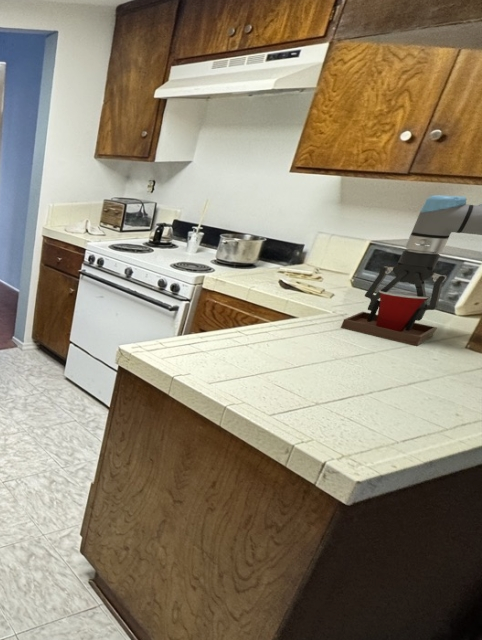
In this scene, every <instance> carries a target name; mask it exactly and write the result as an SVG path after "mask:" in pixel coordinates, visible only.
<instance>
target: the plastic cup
mask: <svg viewBox="0 0 482 640" xmlns="http://www.w3.org/2000/svg"><path fill="white" fill-rule="evenodd" d="M381 290H382V289H379V290H378V292H380V298H379V301H380V305H379V308H378V310H377V315H378V316H377V317H378V318H377V323H376V326H377V327H382V328H386V329H390V330H395V331H399V332H402V331H403V330H404V329H405V328H406V326H407V325H408V323H409V321H410V319H411V317H412V315H413V314H414V313H415V311H416V310H418V309H419V307H420V306H421V304H422V303H423V302H424V301H426V300H427V301H428V300H429V299H431V296H432V295H429V294H426V297H417V292H415V291H414V292H412V291H406V290H397V289H395V290H394V289H390V290H389V291H388V292H387V293H386V292H382V291H381Z"/></svg>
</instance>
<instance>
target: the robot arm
mask: <svg viewBox="0 0 482 640" xmlns="http://www.w3.org/2000/svg"><path fill="white" fill-rule="evenodd" d="M467 200H468V199H467V197H466V196H458V195H446V194H445V195H443V194H440V195H439V194H437V195H436V194H435V195H431V196H429V197H427V198H426V200H425V202H424V203H423V206H422V208H421V209H420V212H419V214H418V215H417V218H416V221H415V223H414V226H413V228H412V231H411V233H410V235H409V237H408V239H407V242H406V244H405V246H404V248H405V250H403V251H402V254H401V255H400V257H399V259H398V262H397V264H396V265H394V266H387V265H385V266H381V267H380V268H379V272H378V275H377V277H376V278H375V279H374V281H373V282H372V284H371V285H370V286H369V288H368V290H367V291H366V292H365V294H364V297H365V298H367V299H369V300H370V302H369V304H368V306H367V311H370V312H369V313H370V315H369V317H368V319H367V322H371V321H373V319H374V317H375V315H377V313H378V310H379V305H380V292H379V291H378V292H377V293H375V292H376V291H377V289H378V288H379V287H380V285H381V284H382V282H383V281H384V280H385V278H386V277H387V275H389V274H391V272H392V273H394V276H395V277H394V278H393V279H392V280H391V281H390V282H389V283H387V284H386V285H385V286H384V287H383V288H382V289H380V290H381V291H382V292H386V293H387V292H388V291H389V290H392V289H393V288H394V287H396V285H397V284H399V283H404V284H405V283H408V284H410V285H414V286H415V290H416V293H417V297H426V295H427V293H426V287H425V286H426V285H425V284H426V283H425V281H426V280H428V279H430V278H432V282H434V283H433V287H432V292H431V295H430V296H431V297H430V302H429V304H428V299H427V300H426V301H424V302H423V303H422V304H421V306H420V307H419V309H418V310H416V311H415V313H414V314H413V315H412V317H411V319H410V321H409V323H408V325H407V327H406V329H405V330H407V331H409V330H411V329H412V327H413V325H414V323H416V321H418V322H420V321H421V320H423V318H424V315H425V314H426V311H435V310H436V309H438V307H439V302H440V298H441V297H440V296H441V292H442V287H443V284H444V282H446V280H447V278H448V276H447V274H446V275H445V274H439V273H436V272H435V268H436V266H437V264H438V261H439V259H440V257H441V255H440V253H443V251H444V249H445V247H446V245H447V244H448V243H447V242H448V241H449V238H450V236H451V235H452V233H455V234H465V235H466V234H467V235H477V236H482V203H481V204H478V205H474V204H469V203H467ZM374 293H375V294H374Z"/></svg>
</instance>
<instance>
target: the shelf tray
mask: <svg viewBox="0 0 482 640" xmlns="http://www.w3.org/2000/svg"><path fill="white" fill-rule="evenodd" d="M370 313H371V312H366V311H361V312H358V313H356V314H353V315H351V316H348V317H346V318H344V319H343V320H342V324H341V326H340V328H341V329H344V328H345V330H349V331H353V332H357V333H361V334H366V335H369V336H374V337H378V338H382V339H385V340H390V341H395V342H398V343H402V344H407V345H411V346H415V347H417V346H419V345H420V344H422V343H424V342H426V341H427V340H429V339H431V338H432V337H433V336H434V335H435V332H436V330H437V329H438V327H436V326H432V325H427V324H423V323H417V322H415V323H414V325H413V327H412V329H411V330H409V331H407V330H405V329H406V328H405V329H404V330H403V331H402V332H399V331H395V330H390V329H386V328H382V327H377V326H376V323H377V318H378V317H377V316H378V314H376V315H375V317H374V319H373V321H371V322H367V319H368V317H369V315H370ZM406 327H407V326H406Z"/></svg>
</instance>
